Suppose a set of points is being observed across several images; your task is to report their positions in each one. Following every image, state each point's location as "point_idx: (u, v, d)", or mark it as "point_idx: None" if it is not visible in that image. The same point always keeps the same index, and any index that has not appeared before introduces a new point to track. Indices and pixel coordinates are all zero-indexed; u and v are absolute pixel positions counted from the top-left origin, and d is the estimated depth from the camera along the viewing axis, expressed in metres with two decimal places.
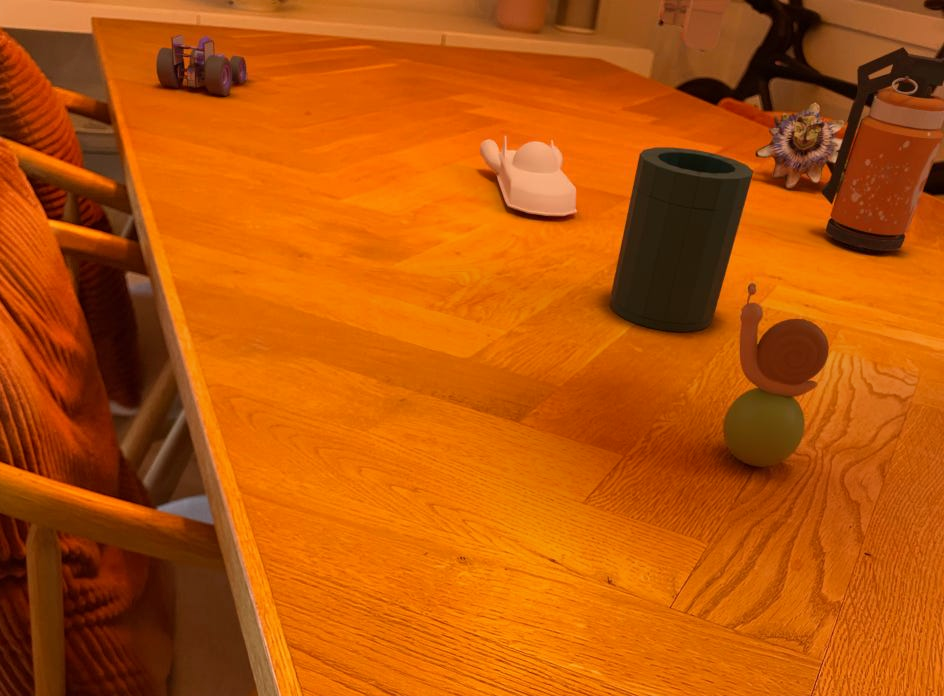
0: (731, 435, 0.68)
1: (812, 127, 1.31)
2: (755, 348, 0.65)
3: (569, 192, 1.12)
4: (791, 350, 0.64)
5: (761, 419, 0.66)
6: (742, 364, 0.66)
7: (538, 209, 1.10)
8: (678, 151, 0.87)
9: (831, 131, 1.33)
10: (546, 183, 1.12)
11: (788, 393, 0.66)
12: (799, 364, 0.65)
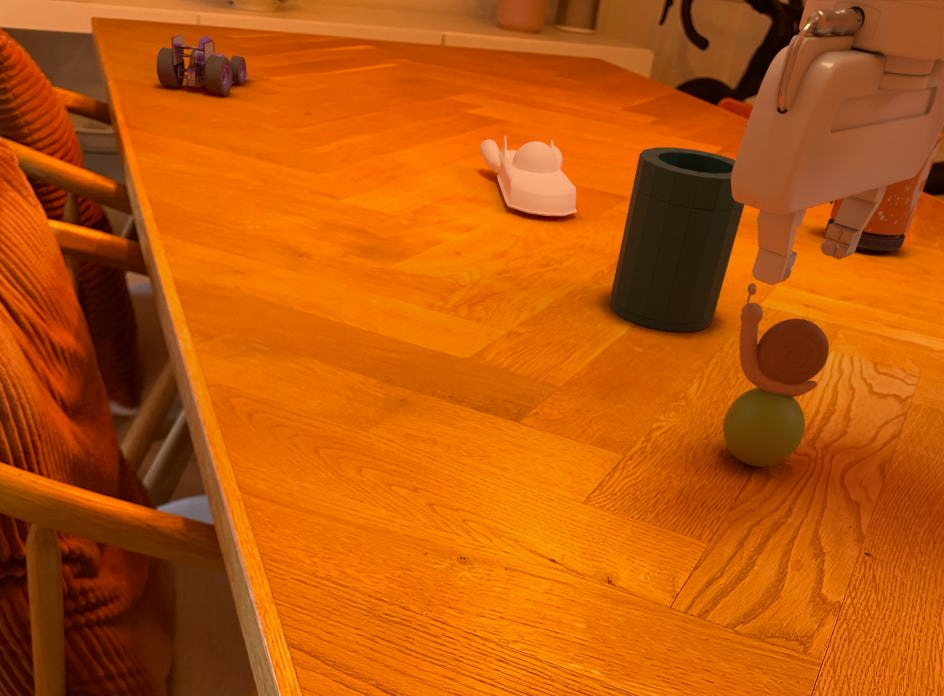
0: (731, 435, 0.68)
1: None
2: (755, 348, 0.65)
3: (569, 192, 1.12)
4: (791, 350, 0.64)
5: (761, 419, 0.66)
6: (742, 364, 0.66)
7: (538, 209, 1.10)
8: (678, 151, 0.87)
9: None
10: (546, 183, 1.12)
11: (788, 393, 0.66)
12: (799, 364, 0.65)
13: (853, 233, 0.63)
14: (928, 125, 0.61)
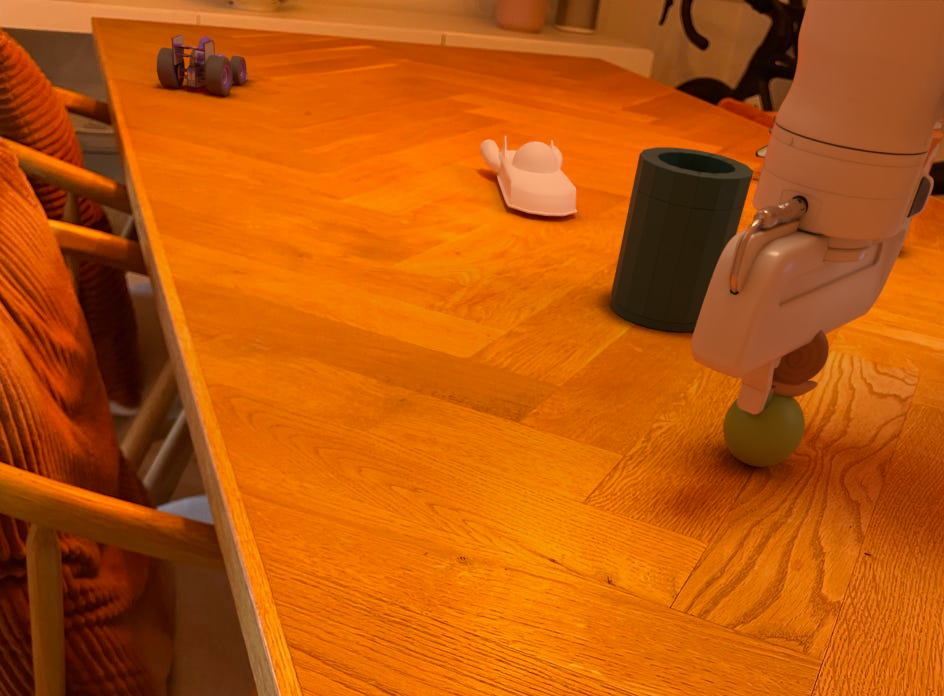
0: (731, 435, 0.68)
1: None
2: None
3: (569, 192, 1.12)
4: None
5: (761, 419, 0.66)
6: None
7: (538, 209, 1.10)
8: (678, 151, 0.87)
9: None
10: (546, 183, 1.12)
11: (788, 393, 0.66)
12: (799, 364, 0.65)
13: None
14: (876, 272, 0.67)
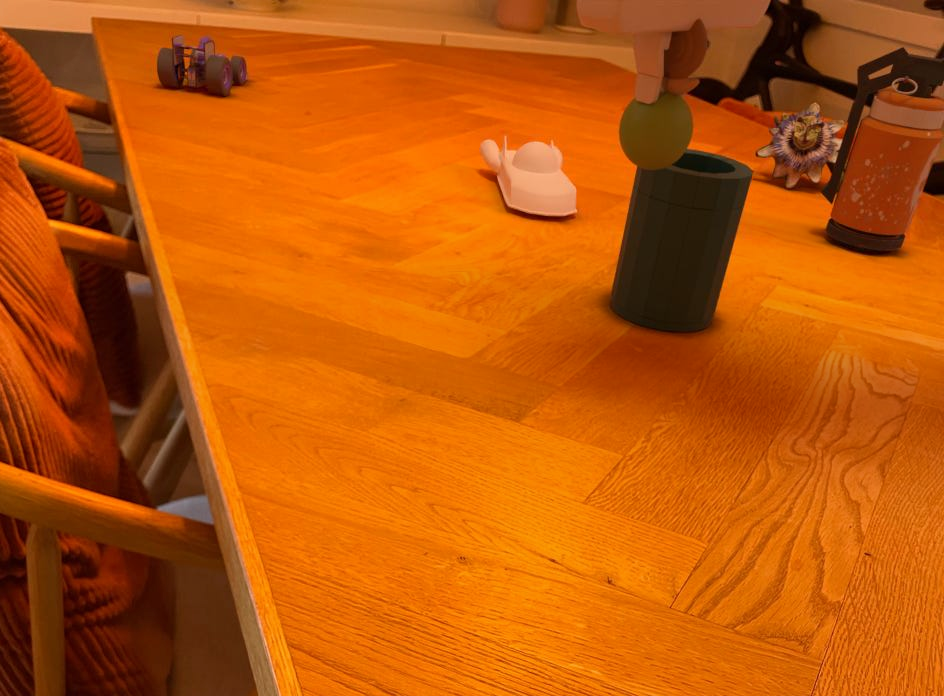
0: (619, 129, 0.74)
1: (812, 127, 1.31)
2: None
3: (569, 192, 1.12)
4: (671, 39, 0.69)
5: (639, 108, 0.71)
6: None
7: (538, 209, 1.10)
8: None
9: (831, 131, 1.33)
10: (546, 183, 1.12)
11: (672, 89, 0.71)
12: (677, 54, 0.69)
13: None
14: None
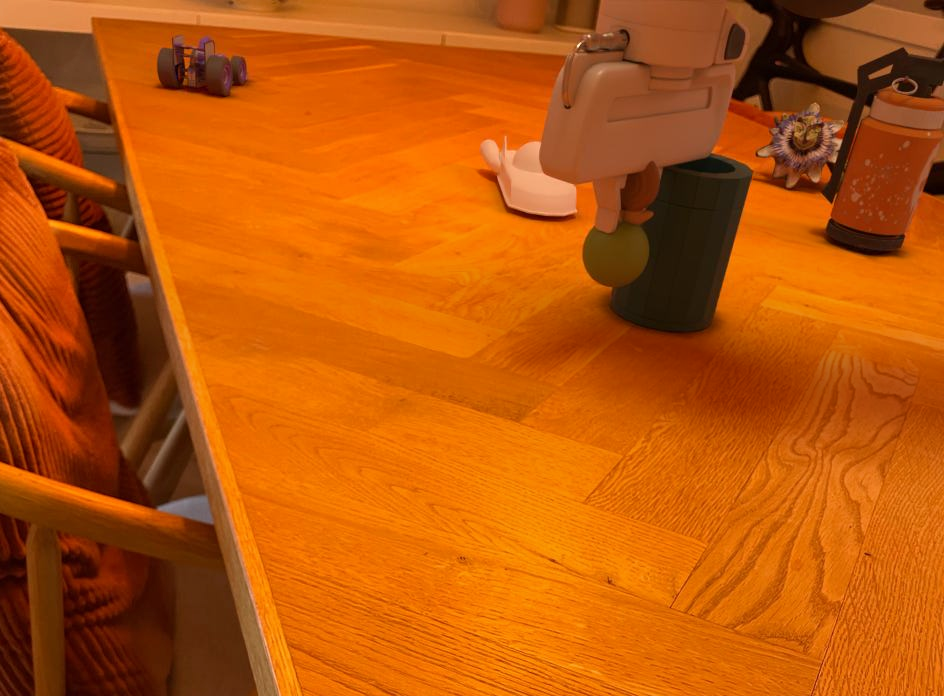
0: (582, 252, 0.81)
1: (812, 127, 1.31)
2: None
3: (569, 192, 1.12)
4: (627, 177, 0.77)
5: (599, 236, 0.79)
6: None
7: (538, 209, 1.10)
8: None
9: (831, 131, 1.33)
10: (546, 183, 1.12)
11: (629, 219, 0.78)
12: (633, 191, 0.77)
13: None
14: (710, 116, 0.79)
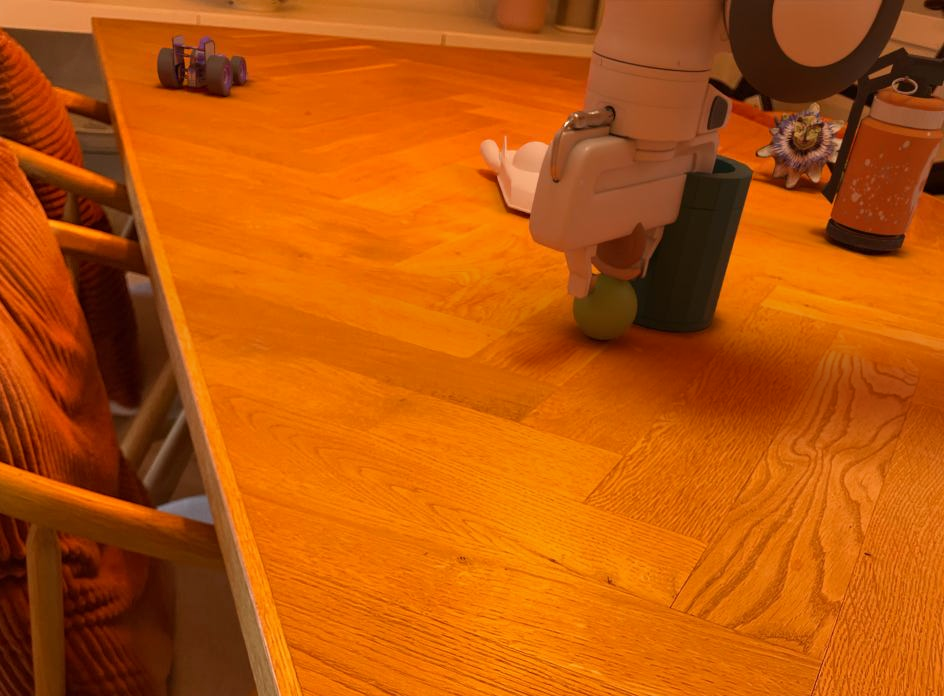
0: None
1: (812, 127, 1.31)
2: None
3: None
4: None
5: None
6: None
7: None
8: None
9: (831, 131, 1.33)
10: None
11: (617, 276, 0.81)
12: (620, 250, 0.80)
13: (640, 262, 0.83)
14: None
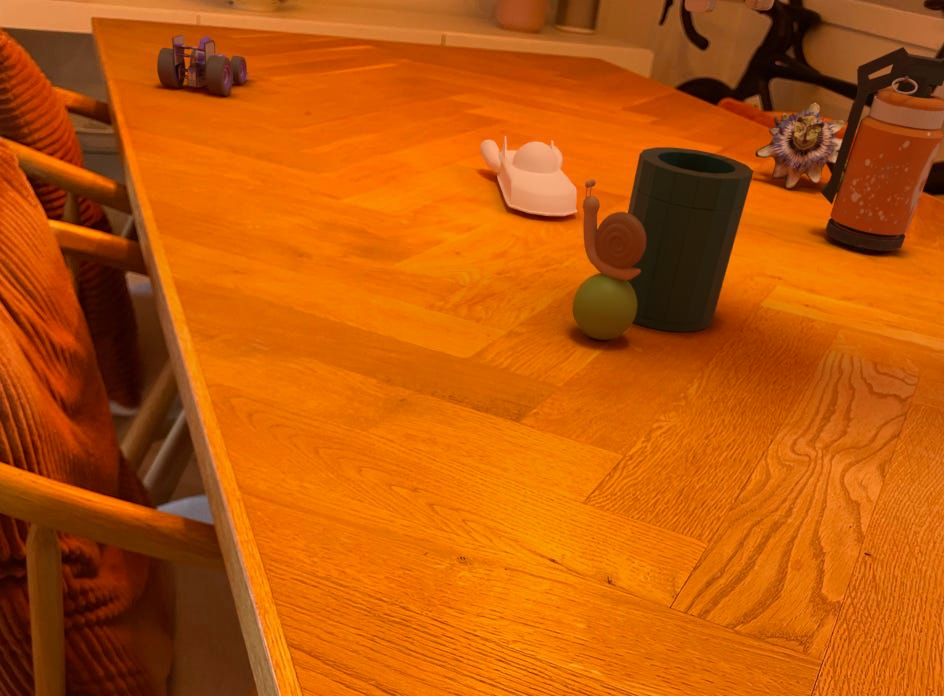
0: None
1: (812, 127, 1.31)
2: (593, 234, 0.81)
3: (570, 192, 1.12)
4: (614, 237, 0.80)
5: (589, 292, 0.82)
6: (585, 248, 0.82)
7: (539, 209, 1.10)
8: (678, 151, 0.87)
9: (831, 131, 1.33)
10: (546, 183, 1.12)
11: (617, 276, 0.81)
12: (620, 250, 0.80)
13: None
14: None
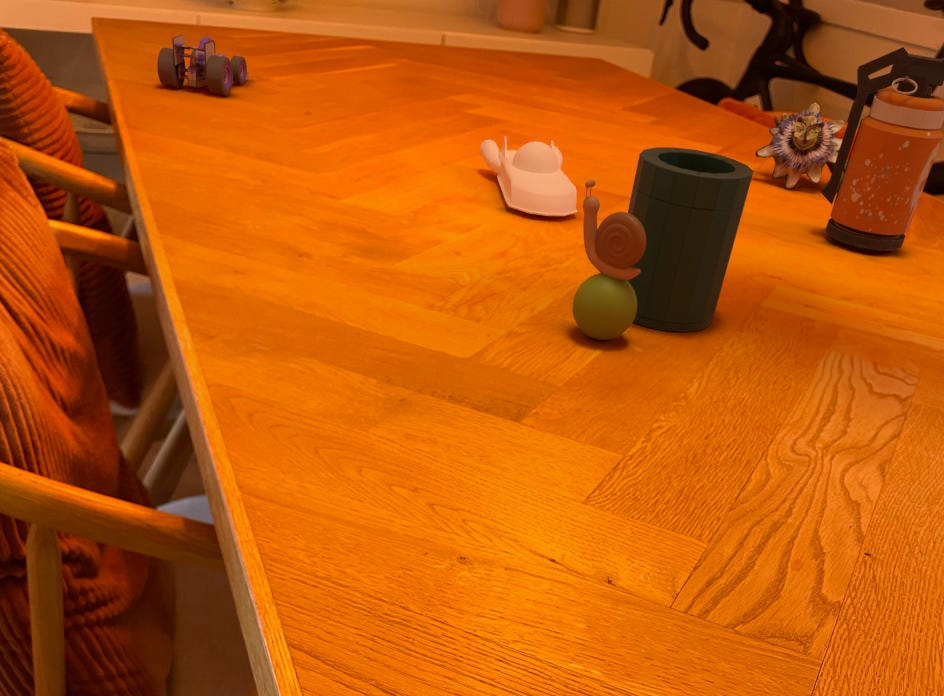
0: None
1: (812, 127, 1.31)
2: (593, 234, 0.81)
3: (570, 192, 1.12)
4: (614, 237, 0.80)
5: (589, 292, 0.82)
6: (585, 248, 0.82)
7: (539, 209, 1.10)
8: (678, 151, 0.87)
9: (831, 131, 1.33)
10: (547, 183, 1.12)
11: (617, 276, 0.81)
12: (620, 250, 0.80)
13: None
14: None
